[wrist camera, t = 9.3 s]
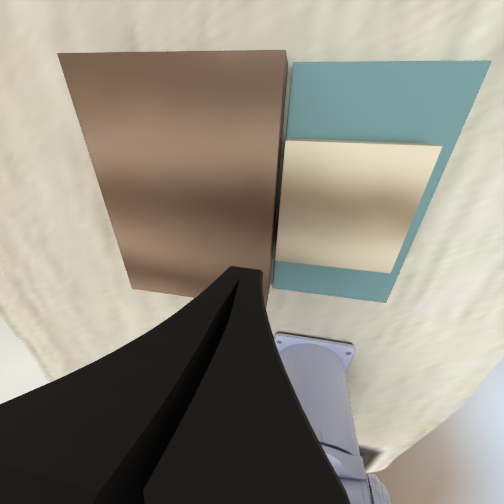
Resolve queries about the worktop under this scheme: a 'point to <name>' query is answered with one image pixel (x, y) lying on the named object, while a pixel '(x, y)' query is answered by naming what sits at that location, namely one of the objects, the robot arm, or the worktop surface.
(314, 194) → the cream square slab
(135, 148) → the walnut board
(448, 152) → the rubber mat
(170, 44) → the worktop surface
